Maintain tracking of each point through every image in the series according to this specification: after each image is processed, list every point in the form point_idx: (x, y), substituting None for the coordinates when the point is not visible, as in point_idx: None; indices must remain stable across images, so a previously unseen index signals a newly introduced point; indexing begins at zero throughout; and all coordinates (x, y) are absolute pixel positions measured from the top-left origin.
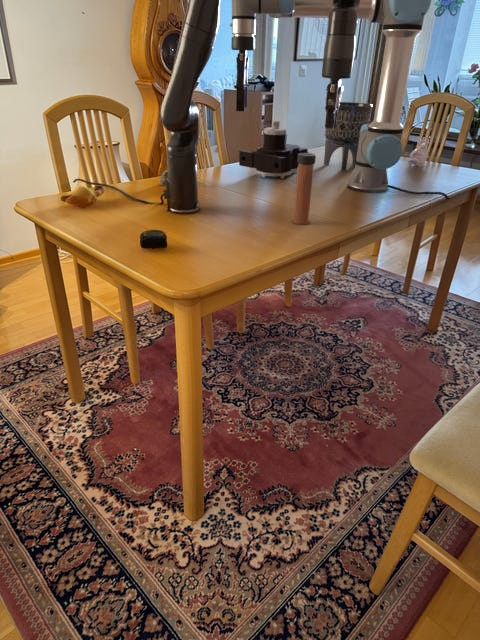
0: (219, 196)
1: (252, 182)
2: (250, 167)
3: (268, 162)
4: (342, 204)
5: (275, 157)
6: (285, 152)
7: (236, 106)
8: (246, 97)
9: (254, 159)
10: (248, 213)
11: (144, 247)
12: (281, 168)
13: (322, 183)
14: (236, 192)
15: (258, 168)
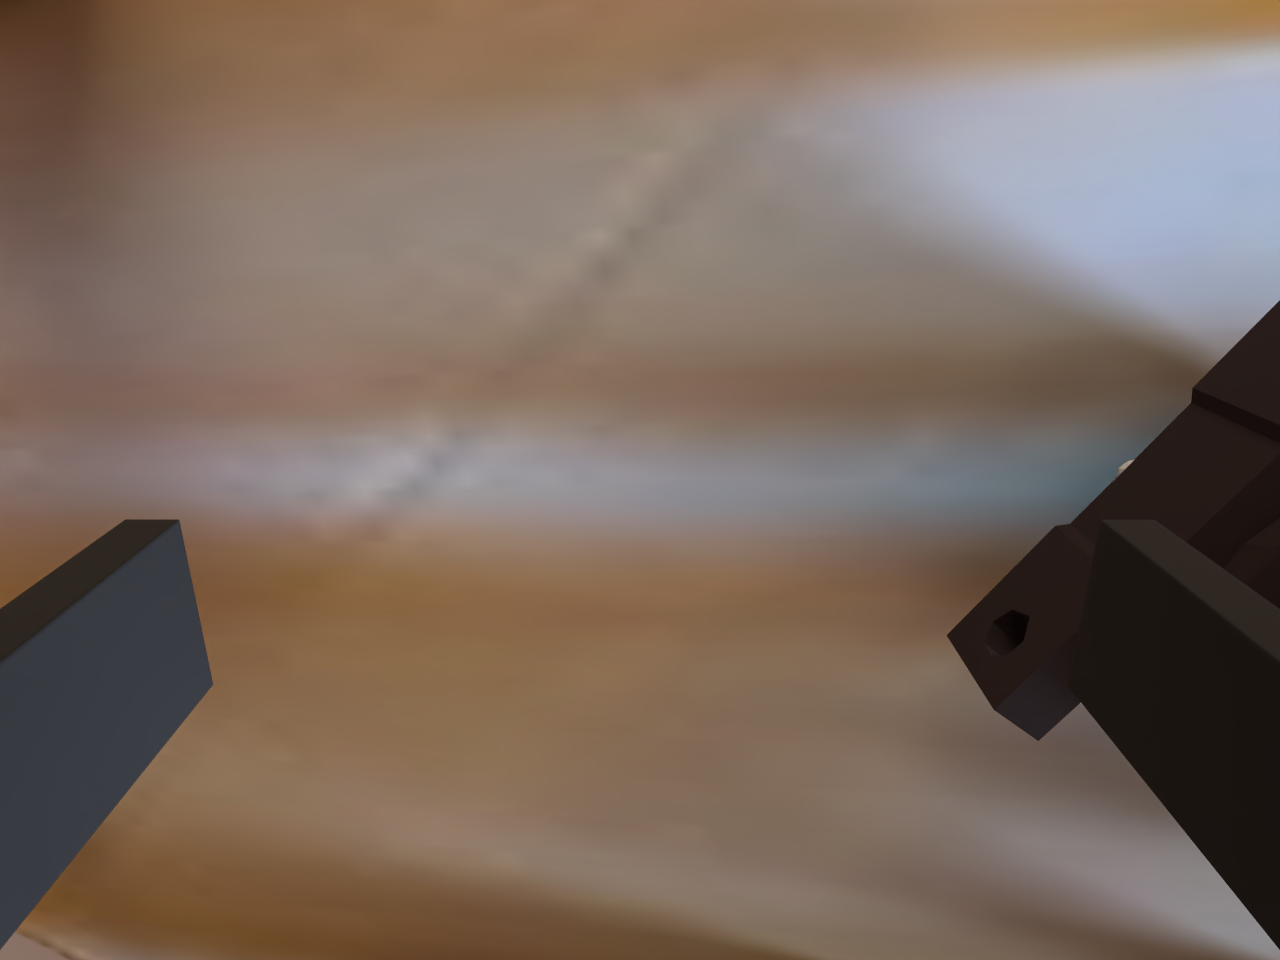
0: (457, 132)
1: (964, 382)
2: (1207, 373)
3: (1081, 569)
4: (442, 913)
5: (1048, 656)
6: None
7: (65, 567)
8: (1198, 825)
9: (1235, 434)
10: (70, 397)
11: None
12: (965, 660)
13: (946, 855)
14: (611, 268)
15: (1145, 451)
